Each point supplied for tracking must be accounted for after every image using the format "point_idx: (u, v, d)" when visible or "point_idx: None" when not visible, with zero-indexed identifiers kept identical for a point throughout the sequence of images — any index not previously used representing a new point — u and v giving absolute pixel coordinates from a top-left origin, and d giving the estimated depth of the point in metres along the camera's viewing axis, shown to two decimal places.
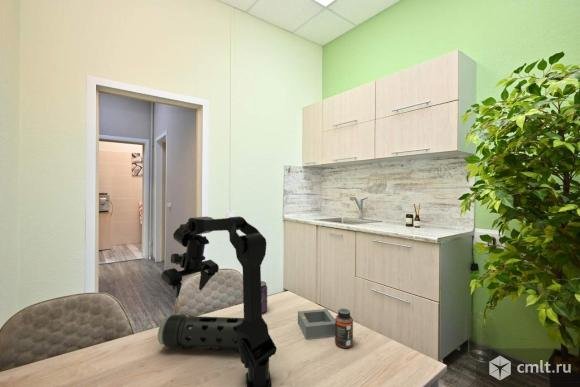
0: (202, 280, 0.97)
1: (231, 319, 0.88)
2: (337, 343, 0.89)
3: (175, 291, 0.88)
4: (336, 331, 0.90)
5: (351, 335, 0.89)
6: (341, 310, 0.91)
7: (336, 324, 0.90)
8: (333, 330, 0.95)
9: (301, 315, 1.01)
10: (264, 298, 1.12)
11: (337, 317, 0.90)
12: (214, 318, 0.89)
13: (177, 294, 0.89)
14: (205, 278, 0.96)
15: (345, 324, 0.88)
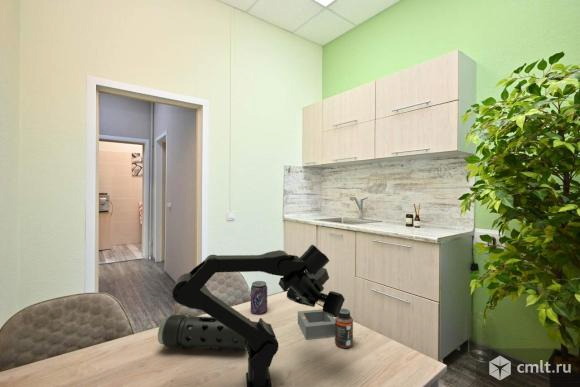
0: None
1: None
2: (337, 343, 0.89)
3: None
4: (336, 331, 0.90)
5: (351, 335, 0.89)
6: (341, 310, 0.91)
7: (336, 324, 0.90)
8: (333, 330, 0.95)
9: (301, 315, 1.01)
10: (264, 298, 1.12)
11: (337, 317, 0.90)
12: None
13: None
14: None
15: (345, 324, 0.88)
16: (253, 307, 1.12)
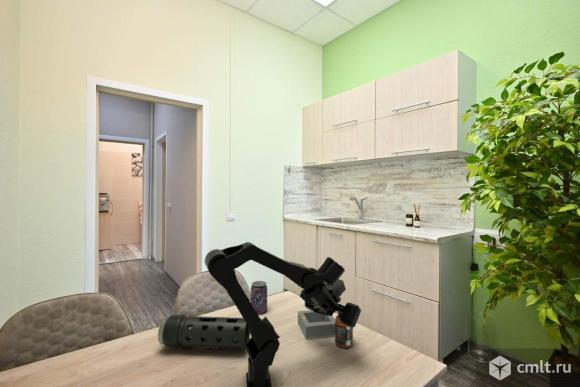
0: None
1: (231, 319, 0.88)
2: (337, 343, 0.89)
3: None
4: (336, 331, 0.90)
5: (351, 335, 0.89)
6: None
7: (336, 324, 0.90)
8: (333, 330, 0.95)
9: (301, 315, 1.01)
10: (264, 298, 1.12)
11: (337, 317, 0.90)
12: (214, 318, 0.89)
13: None
14: None
15: None
16: None
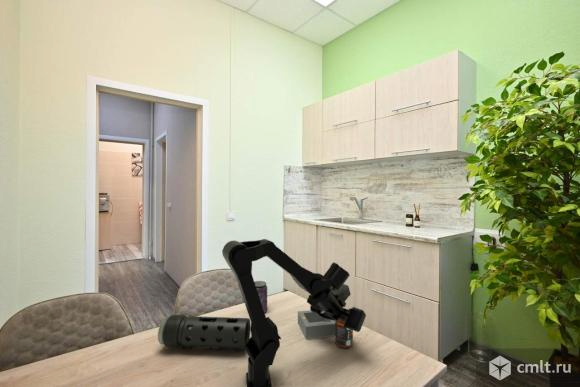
0: None
1: (231, 319, 0.88)
2: (337, 343, 0.89)
3: None
4: (336, 331, 0.90)
5: (351, 335, 0.89)
6: None
7: (336, 324, 0.90)
8: (333, 330, 0.95)
9: (301, 315, 1.01)
10: (264, 298, 1.12)
11: None
12: (214, 318, 0.89)
13: None
14: None
15: None
16: None
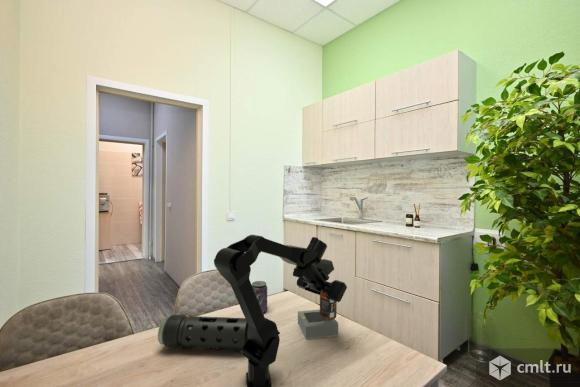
0: None
1: (231, 319, 0.88)
2: (321, 315, 0.94)
3: None
4: (320, 304, 0.95)
5: (334, 308, 0.94)
6: None
7: (320, 298, 0.95)
8: (333, 330, 0.95)
9: (301, 315, 1.01)
10: (264, 298, 1.12)
11: (321, 291, 0.96)
12: (214, 318, 0.89)
13: (318, 294, 0.98)
14: None
15: None
16: None
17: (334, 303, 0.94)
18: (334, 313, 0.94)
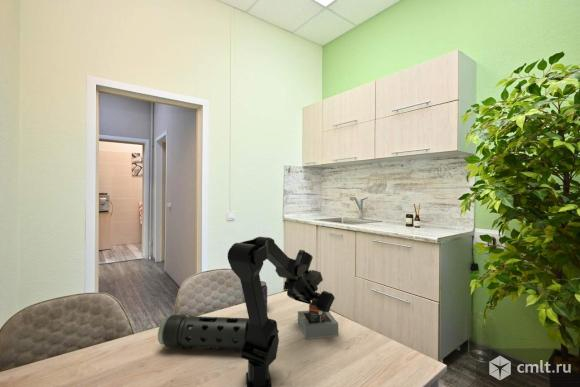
0: None
1: (231, 319, 0.88)
2: None
3: None
4: (309, 316, 0.99)
5: (323, 320, 0.98)
6: None
7: (309, 310, 0.99)
8: (333, 330, 0.95)
9: (301, 315, 1.01)
10: (264, 298, 1.12)
11: (310, 304, 0.99)
12: (214, 318, 0.89)
13: None
14: None
15: (317, 310, 0.97)
16: None
17: (322, 315, 0.98)
18: None
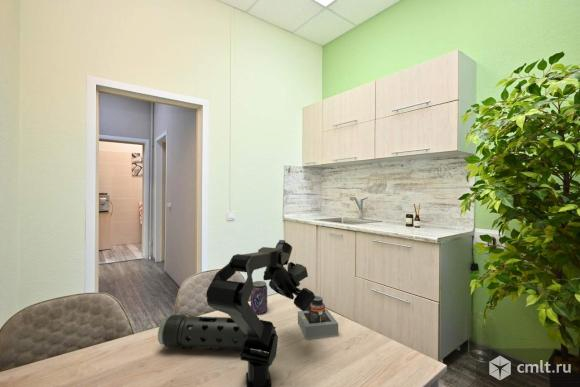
0: None
1: (231, 319, 0.88)
2: None
3: None
4: (310, 316, 0.99)
5: (323, 320, 0.98)
6: None
7: (310, 310, 0.99)
8: (333, 330, 0.95)
9: (301, 315, 1.01)
10: (264, 298, 1.12)
11: (311, 304, 0.99)
12: (214, 318, 0.89)
13: None
14: None
15: (317, 310, 0.97)
16: (253, 307, 1.12)
17: (323, 315, 0.98)
18: None
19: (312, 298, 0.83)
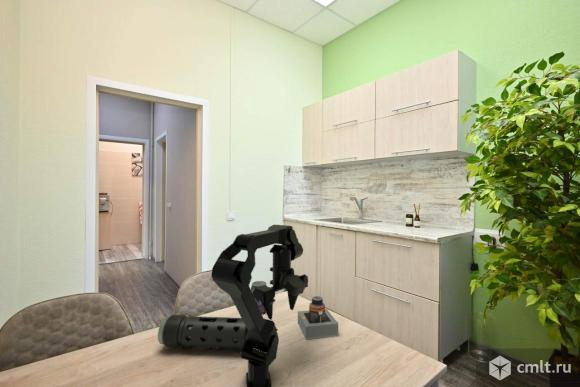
0: None
1: (231, 319, 0.88)
2: None
3: None
4: (310, 316, 0.99)
5: (323, 320, 0.98)
6: (314, 297, 1.00)
7: (310, 310, 0.99)
8: (333, 330, 0.95)
9: (301, 315, 1.01)
10: None
11: (311, 304, 0.99)
12: (214, 318, 0.89)
13: None
14: None
15: (317, 310, 0.97)
16: None
17: (323, 315, 0.98)
18: None
19: (261, 298, 0.76)
